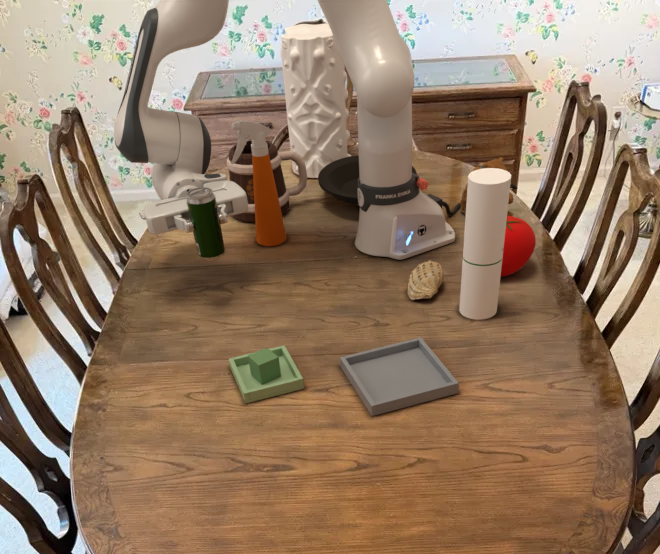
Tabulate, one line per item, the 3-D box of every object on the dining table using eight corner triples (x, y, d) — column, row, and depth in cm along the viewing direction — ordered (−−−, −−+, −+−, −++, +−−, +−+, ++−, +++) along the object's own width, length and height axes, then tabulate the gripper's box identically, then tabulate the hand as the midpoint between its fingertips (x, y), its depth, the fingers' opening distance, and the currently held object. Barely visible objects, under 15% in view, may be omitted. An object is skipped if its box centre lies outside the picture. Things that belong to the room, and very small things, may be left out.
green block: (270, 366, 129) (267, 347, 127) (281, 376, 127) (278, 356, 124) (250, 374, 128) (247, 355, 125) (261, 384, 126) (258, 365, 123)
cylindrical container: (499, 302, 140) (514, 169, 123) (493, 321, 136) (507, 185, 118) (463, 298, 142) (472, 166, 125) (455, 317, 138) (464, 182, 120)
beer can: (205, 264, 138) (192, 201, 130) (193, 254, 142) (180, 192, 133) (230, 255, 140) (219, 192, 131) (218, 246, 143) (206, 184, 135)
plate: (428, 214, 171) (429, 190, 167) (329, 228, 169) (328, 204, 165) (401, 171, 190) (401, 149, 186) (312, 183, 189) (310, 161, 185)
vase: (284, 180, 192) (269, 39, 169) (296, 157, 203) (283, 22, 180) (347, 179, 189) (340, 36, 166) (356, 156, 200) (350, 19, 177)
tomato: (465, 285, 146) (468, 235, 139) (460, 256, 155) (463, 207, 148) (536, 282, 145) (544, 232, 137) (527, 253, 154) (534, 204, 146)
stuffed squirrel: (484, 233, 162) (489, 172, 152) (446, 213, 171) (449, 154, 161) (519, 221, 165) (526, 161, 155) (480, 202, 174) (484, 143, 164)
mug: (234, 228, 173) (223, 162, 162) (227, 204, 183) (217, 141, 172) (315, 215, 175) (309, 150, 164) (304, 192, 185) (298, 129, 174)
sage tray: (285, 354, 133) (284, 344, 131) (304, 388, 125) (303, 378, 123) (230, 368, 131) (228, 358, 129) (245, 403, 123) (243, 393, 122)
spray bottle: (237, 245, 166) (216, 120, 148) (275, 230, 170) (260, 107, 152) (253, 255, 162) (234, 128, 143) (292, 239, 166) (279, 114, 147)
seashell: (448, 309, 146) (438, 268, 149) (452, 290, 140) (442, 248, 143) (410, 314, 145) (401, 273, 148) (413, 295, 139) (404, 253, 143)
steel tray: (420, 346, 132) (420, 336, 130) (458, 393, 121) (459, 382, 119) (340, 367, 129) (339, 357, 127) (371, 416, 118) (371, 406, 117)
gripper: (132, 194, 140) (149, 220, 131) (231, 171, 145) (254, 194, 136) (141, 226, 144) (157, 253, 135) (237, 202, 149) (259, 227, 140)
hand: (207, 223), depth 136 cm, fingers closed on beer can, 5 cm apart
